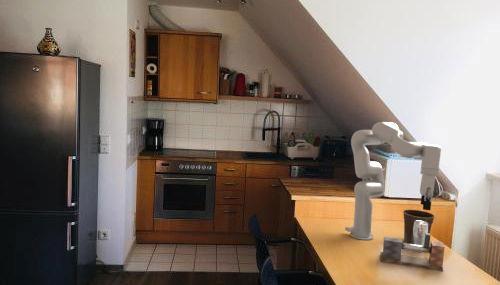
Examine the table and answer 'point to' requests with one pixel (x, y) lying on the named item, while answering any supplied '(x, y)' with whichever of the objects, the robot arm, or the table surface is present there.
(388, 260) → the tube rig
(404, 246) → the tube
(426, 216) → the plant pot
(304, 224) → the table surface
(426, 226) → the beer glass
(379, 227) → the table surface
